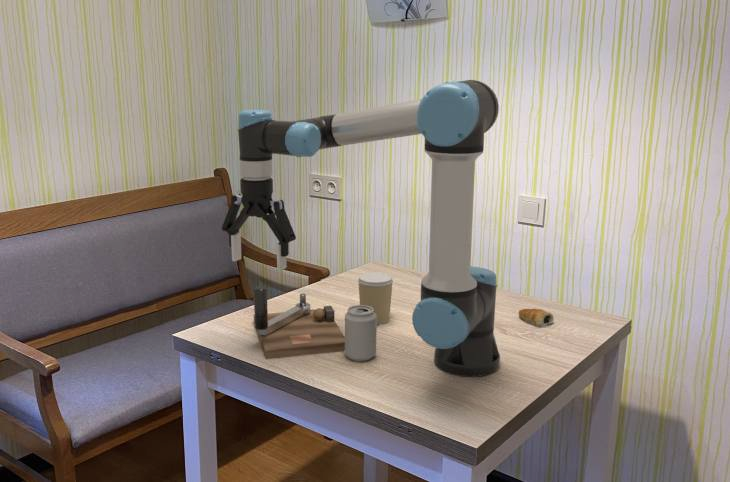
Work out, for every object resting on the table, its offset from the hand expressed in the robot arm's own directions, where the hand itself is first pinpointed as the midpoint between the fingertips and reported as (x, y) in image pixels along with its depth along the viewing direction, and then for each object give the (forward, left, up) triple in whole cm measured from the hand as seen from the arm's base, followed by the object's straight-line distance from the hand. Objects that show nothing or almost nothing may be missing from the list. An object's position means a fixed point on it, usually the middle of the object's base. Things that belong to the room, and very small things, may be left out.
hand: (258, 264), depth 171 cm
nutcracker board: (+3, -10, -20) cm, 23 cm away
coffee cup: (+9, -32, -21) cm, 39 cm away
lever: (+6, -7, -18) cm, 20 cm away
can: (-13, -22, -21) cm, 33 cm away
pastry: (-4, -73, -21) cm, 76 cm away
